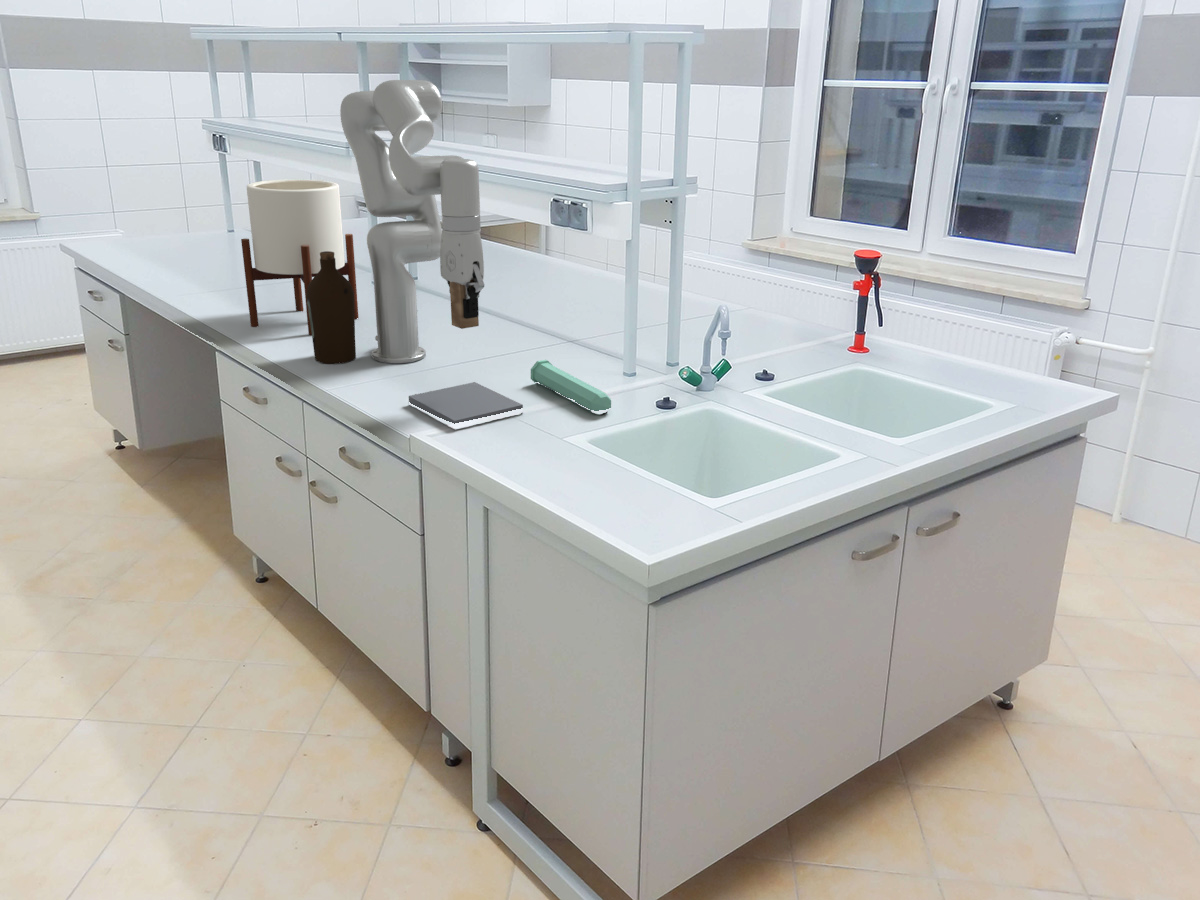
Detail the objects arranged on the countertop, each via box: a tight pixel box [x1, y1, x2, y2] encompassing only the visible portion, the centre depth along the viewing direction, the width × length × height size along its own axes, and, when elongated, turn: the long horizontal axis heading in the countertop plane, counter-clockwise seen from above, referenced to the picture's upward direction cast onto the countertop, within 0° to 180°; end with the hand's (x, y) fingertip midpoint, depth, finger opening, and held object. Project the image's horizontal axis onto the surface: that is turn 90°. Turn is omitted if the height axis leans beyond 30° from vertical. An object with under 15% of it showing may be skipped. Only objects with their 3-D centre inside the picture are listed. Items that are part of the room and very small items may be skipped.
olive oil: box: [307, 251, 357, 365], centre depth 226 cm, size 11×11×25 cm
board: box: [408, 381, 524, 424], centre depth 200 cm, size 18×16×2 cm
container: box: [530, 359, 612, 411], centre depth 207 cm, size 6×6×25 cm
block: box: [449, 279, 480, 330], centre depth 198 cm, size 4×4×10 cm
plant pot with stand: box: [240, 178, 359, 337], centre depth 253 cm, size 22×22×36 cm
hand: (465, 314), depth 199 cm, fingers closed on block, 4 cm apart
